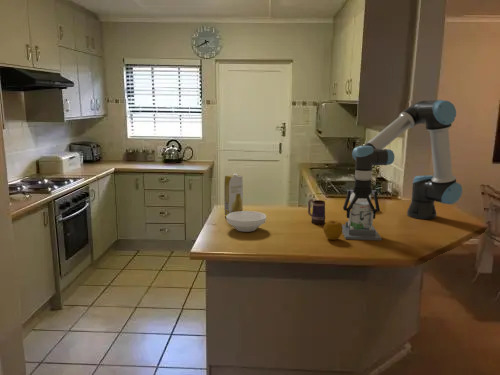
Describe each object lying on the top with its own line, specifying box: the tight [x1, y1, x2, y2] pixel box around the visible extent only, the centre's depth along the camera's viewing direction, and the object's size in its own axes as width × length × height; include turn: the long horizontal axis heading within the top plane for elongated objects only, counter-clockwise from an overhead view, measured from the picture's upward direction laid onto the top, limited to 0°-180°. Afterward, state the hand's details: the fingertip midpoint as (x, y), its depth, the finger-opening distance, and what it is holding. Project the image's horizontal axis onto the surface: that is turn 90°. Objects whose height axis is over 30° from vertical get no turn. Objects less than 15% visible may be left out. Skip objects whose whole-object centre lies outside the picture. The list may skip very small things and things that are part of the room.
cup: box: [349, 192, 372, 203], centre depth 241 cm, size 12×12×10 cm
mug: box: [307, 198, 326, 225], centre depth 211 cm, size 10×7×12 cm
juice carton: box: [223, 173, 244, 216], centre depth 221 cm, size 9×8×24 cm
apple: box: [323, 220, 343, 241], centre depth 183 cm, size 9×8×9 cm
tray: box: [342, 221, 382, 242], centre depth 193 cm, size 16×20×4 cm
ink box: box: [350, 202, 372, 229], centre depth 192 cm, size 9×5×12 cm, turn 119°
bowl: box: [225, 210, 267, 233], centre depth 197 cm, size 20×20×7 cm
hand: (360, 224), depth 193 cm, fingers closed on ink box, 9 cm apart
